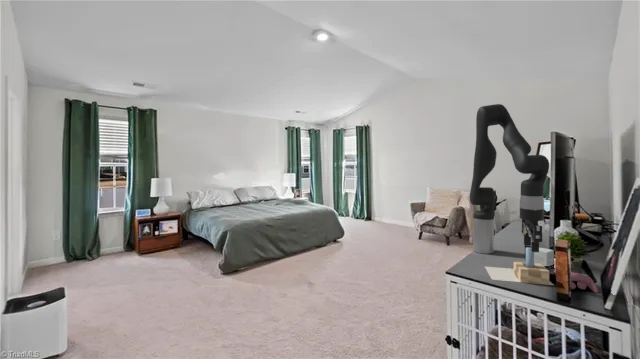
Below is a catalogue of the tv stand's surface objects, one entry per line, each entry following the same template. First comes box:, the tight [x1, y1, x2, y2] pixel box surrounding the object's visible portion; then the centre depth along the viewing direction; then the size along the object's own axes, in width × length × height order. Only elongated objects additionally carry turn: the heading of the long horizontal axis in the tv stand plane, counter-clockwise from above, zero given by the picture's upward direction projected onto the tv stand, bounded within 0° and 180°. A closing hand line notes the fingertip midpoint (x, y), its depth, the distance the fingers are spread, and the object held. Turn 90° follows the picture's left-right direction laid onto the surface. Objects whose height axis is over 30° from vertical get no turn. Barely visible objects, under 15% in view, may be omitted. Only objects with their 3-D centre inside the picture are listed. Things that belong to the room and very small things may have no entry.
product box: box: [534, 246, 555, 266], centre depth 126 cm, size 6×6×7 cm
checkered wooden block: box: [513, 261, 550, 286], centre depth 112 cm, size 9×9×5 cm
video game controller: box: [570, 272, 599, 294], centre depth 103 cm, size 10×5×7 cm, turn 78°
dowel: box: [525, 246, 534, 268], centre depth 112 cm, size 3×3×12 cm
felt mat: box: [484, 266, 554, 286], centre depth 116 cm, size 15×20×1 cm
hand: (531, 248), depth 112 cm, fingers open, 8 cm apart
